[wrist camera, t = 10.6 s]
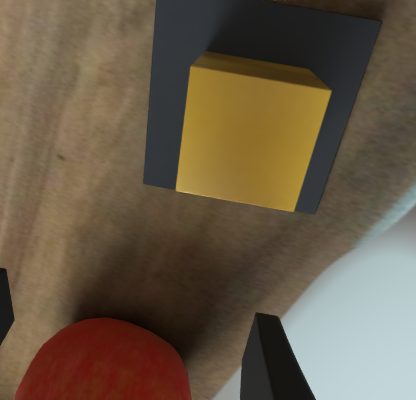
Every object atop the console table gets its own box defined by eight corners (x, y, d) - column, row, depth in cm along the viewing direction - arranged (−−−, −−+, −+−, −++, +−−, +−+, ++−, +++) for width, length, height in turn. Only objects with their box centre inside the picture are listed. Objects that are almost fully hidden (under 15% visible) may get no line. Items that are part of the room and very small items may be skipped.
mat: (144, 180, 19) (143, 184, 18) (159, -18, 14) (157, -19, 14) (313, 211, 19) (314, 214, 18) (379, 21, 14) (382, 20, 14)
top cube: (191, 149, 17) (175, 191, 13) (204, 50, 15) (190, 65, 11) (282, 166, 17) (294, 212, 13) (309, 69, 15) (332, 90, 11)
